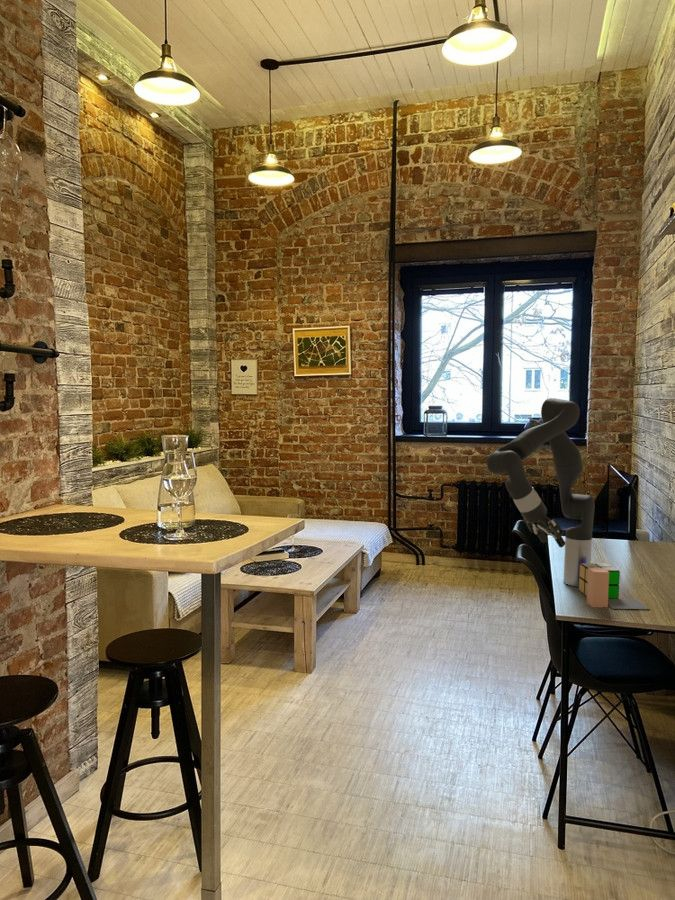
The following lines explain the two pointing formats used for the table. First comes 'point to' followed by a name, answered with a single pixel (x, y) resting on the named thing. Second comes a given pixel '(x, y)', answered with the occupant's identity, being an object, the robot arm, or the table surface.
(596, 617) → the table surface
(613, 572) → the puzzle cube
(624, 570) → the table surface
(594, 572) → the terracotta block
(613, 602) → the mat
